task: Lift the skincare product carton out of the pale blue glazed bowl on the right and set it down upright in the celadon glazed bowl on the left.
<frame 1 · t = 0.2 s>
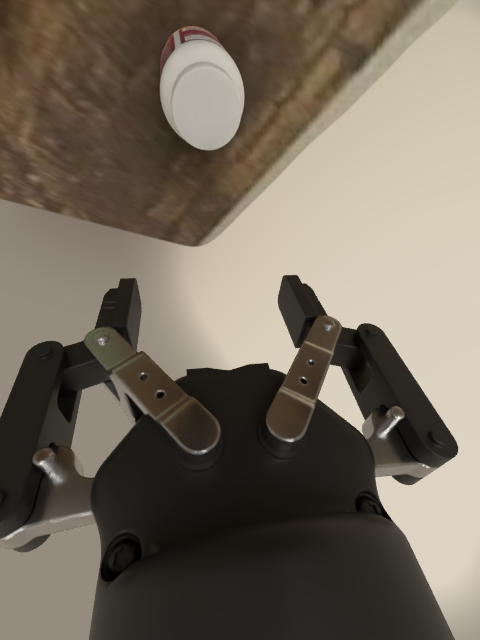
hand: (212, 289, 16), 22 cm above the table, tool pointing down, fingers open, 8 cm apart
pill bottle: (195, 72, 26), on the table
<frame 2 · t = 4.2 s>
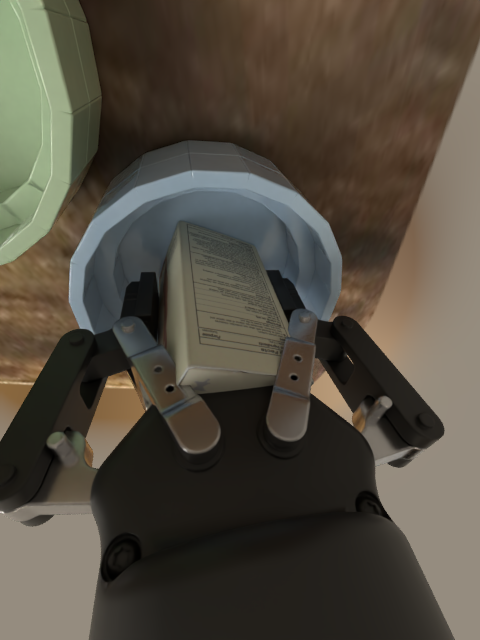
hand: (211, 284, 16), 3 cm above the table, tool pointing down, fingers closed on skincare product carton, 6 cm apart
skincare product carton: (207, 261, 18), resting on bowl, touching gripper
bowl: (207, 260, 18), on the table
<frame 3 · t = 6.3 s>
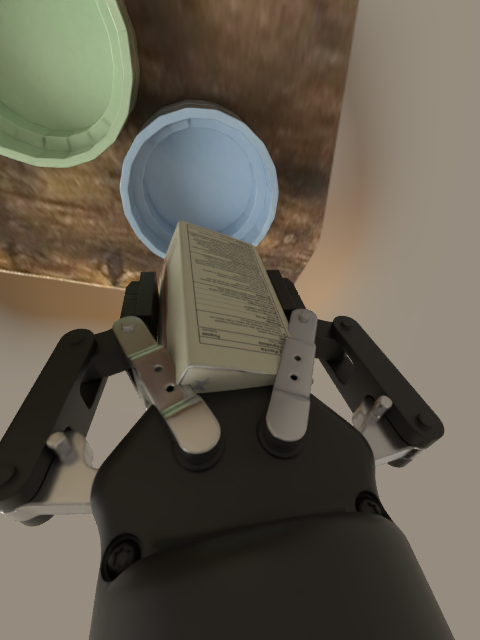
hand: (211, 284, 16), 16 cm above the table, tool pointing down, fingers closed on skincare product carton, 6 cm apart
skincare product carton: (208, 261, 18), point 14 cm above the table, touching gripper
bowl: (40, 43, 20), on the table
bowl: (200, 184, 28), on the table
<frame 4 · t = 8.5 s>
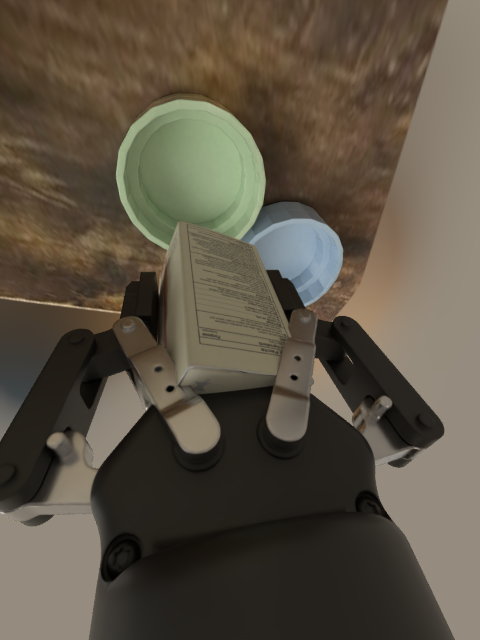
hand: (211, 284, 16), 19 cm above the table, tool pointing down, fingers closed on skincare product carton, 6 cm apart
skincare product carton: (208, 261, 18), point 16 cm above the table, touching gripper
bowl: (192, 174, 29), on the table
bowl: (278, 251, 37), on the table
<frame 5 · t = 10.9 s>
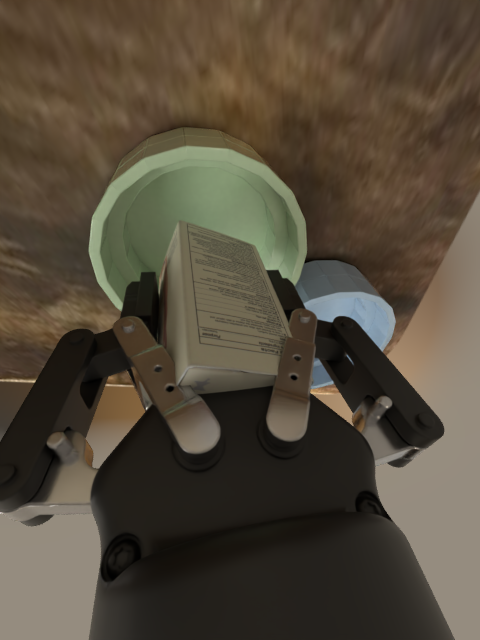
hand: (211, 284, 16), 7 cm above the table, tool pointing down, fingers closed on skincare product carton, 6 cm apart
skincare product carton: (208, 261, 18), point 5 cm above the table, touching gripper
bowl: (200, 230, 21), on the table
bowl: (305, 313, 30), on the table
when the fingers open (3 cm above the table, at t = 12.7 s): skincare product carton stays where it is, resting on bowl.
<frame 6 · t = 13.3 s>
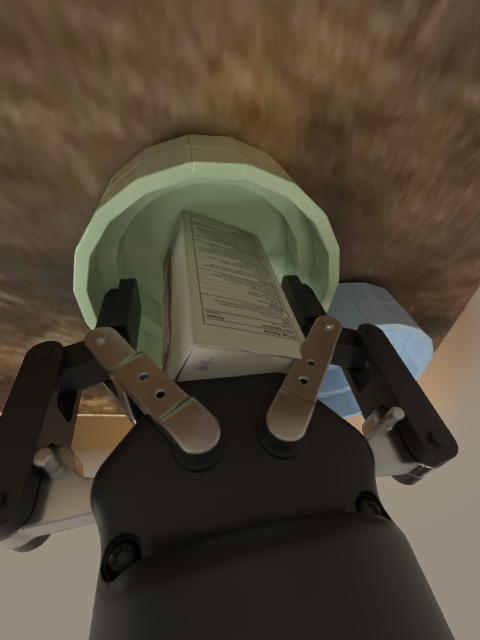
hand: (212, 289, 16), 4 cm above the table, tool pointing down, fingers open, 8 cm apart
skincare product carton: (210, 251, 18), resting on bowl
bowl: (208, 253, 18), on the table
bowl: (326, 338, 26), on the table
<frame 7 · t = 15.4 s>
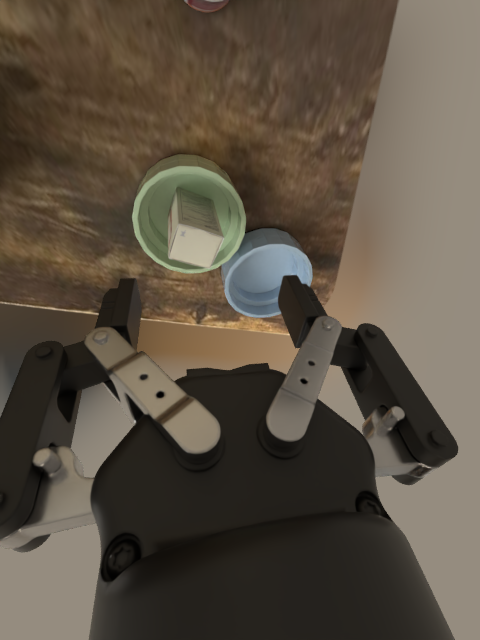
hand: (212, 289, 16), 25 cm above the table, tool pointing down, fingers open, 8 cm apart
skincare product carton: (190, 208, 37), resting on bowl
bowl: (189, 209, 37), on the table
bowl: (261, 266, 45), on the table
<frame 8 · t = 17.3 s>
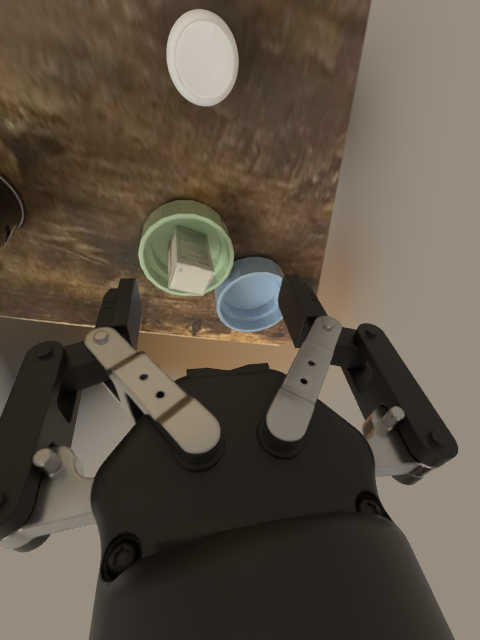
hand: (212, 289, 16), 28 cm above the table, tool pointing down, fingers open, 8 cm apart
skincare product carton: (187, 241, 43), resting on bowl
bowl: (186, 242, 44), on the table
pill bottle: (197, 60, 30), on the table
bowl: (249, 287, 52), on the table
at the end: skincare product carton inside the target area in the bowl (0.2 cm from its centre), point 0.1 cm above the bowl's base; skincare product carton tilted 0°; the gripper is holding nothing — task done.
